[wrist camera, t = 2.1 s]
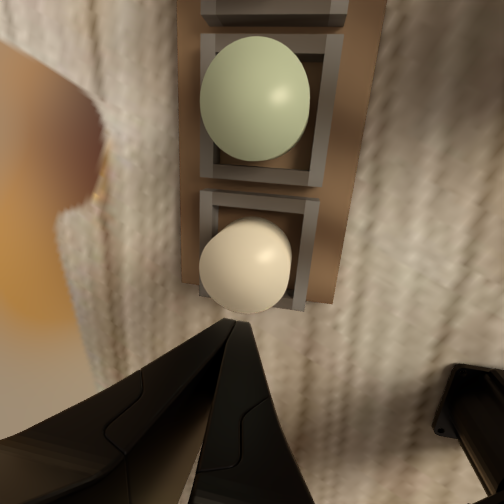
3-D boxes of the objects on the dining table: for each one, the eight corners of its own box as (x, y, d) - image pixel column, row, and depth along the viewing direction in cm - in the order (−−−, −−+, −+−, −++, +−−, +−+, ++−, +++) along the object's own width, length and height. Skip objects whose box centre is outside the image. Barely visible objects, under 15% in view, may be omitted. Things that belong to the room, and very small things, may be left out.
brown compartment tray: (330, 297, 21) (333, 316, 18) (187, 277, 22) (173, 292, 20) (409, -150, 13) (433, -221, 11) (184, -131, 15) (160, -188, 12)
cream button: (287, 294, 18) (283, 319, 15) (215, 284, 19) (198, 306, 16) (296, 221, 16) (294, 234, 14) (216, 212, 17) (199, 223, 14)
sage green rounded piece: (303, 163, 15) (302, 165, 13) (218, 157, 16) (199, 157, 13) (315, 60, 14) (317, 36, 11) (220, 59, 15) (200, 35, 12)
